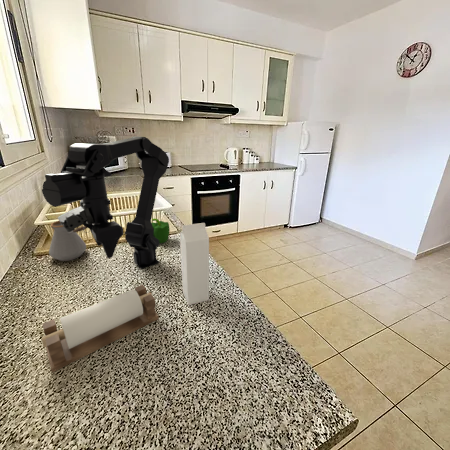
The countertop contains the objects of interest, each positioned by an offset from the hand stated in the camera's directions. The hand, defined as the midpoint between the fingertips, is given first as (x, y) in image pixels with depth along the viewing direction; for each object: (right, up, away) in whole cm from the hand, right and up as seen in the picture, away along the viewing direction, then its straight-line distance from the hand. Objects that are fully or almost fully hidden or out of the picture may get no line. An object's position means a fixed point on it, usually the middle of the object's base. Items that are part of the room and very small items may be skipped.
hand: (104, 251), depth 66 cm
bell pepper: (+6, 0, +34) cm, 35 cm away
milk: (+25, -13, +2) cm, 28 cm away
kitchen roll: (+7, -13, -13) cm, 20 cm away
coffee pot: (-19, -5, +19) cm, 27 cm away
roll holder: (+6, -17, -11) cm, 22 cm away
